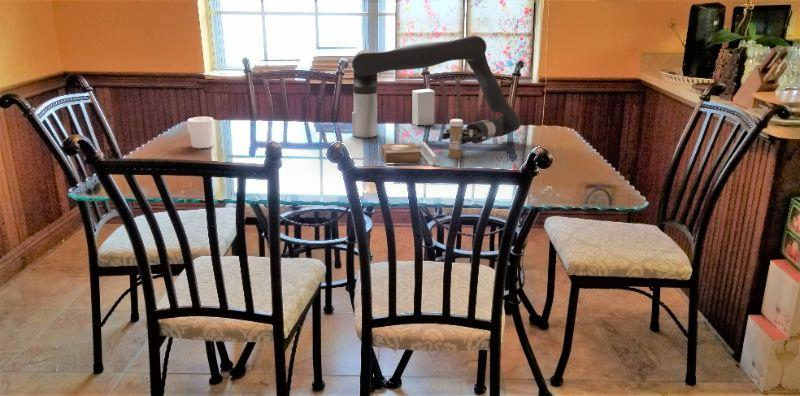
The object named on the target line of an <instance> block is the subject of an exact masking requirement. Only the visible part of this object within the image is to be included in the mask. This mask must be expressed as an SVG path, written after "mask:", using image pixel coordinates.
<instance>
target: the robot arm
mask: <svg viewBox="0 0 800 396" xmlns="http://www.w3.org/2000/svg"><path fill="white" fill-rule="evenodd" d="M486 50H487V43H486V41H485V40H484V38H482V37H481V36H478V35H469V36H466V37H461V38H458V39H453V40H449V41H434V42H422V43H414V44H408V45H404V46H401V47H398V48H395V49H391V50H387V51H377V52H375V51H373V52H372V51H371V50H367V49H363V50H359V51H358V52H357V53H356V54H355V55H354V57H353V59H352V62H351V66H352V69H353V85H352V86H353V87H352V89H353V91H352V94H353V111H352V112H351V124H352V125H351V126H352V127H351V128H352V129H351V130H352V133H351V134H352V137H356V138H363V139H364V138H367V139H368V137H369V138H374V136H375V137H376V136H378V74H380V73H385V72H388V71H389V72H390V71H406V70H407V71H408V70H417V69H424V68H430V67H434V66H437V65H441V64H443V63H446V62H451V61H459V60H465V62H467V65H469V67H470V68H471V71H472V72H473V74H474V76H475V78H476V80H477V82H478V85H479V88H480V89H481V92H482V94H483V96H484V99H485V102H486V105H487V106H488V108H489V111H491V113H500V114H501V116H500V117H498V118H490V119H483V120H478V121H475V122H474V121H473V122H470V123H469V124H468V125H466V127H465V128H464V127H462V138H461V144H462V145H464V144H468V143H469V144H475V145H476V144H479V143H482V142H486V141H488V140H491V139H493V138H497V137H499V138H500V137H503V136H506V135H508V134H511V133H513V132H515V131H518V129H520V127H521V120H520V117H519V115H518V114H517V113H516V112H515V110H514V109H513V107H512V106H511V105H510V103H508V101H507V99H506V96H505V95H504V92H503V89H502V88H501V86H500V84H499V82H498V80H497V79H496V77H495V76H494V74H493V72H492V69H491V68H490V66H489V63H488V59H487V56H486ZM441 136H442V140H450V128H447V129H445V132H443V133H442V135H441Z"/></svg>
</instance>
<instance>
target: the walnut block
mask: <svg viewBox="0 0 800 396" xmlns="http://www.w3.org/2000/svg"><path fill="white" fill-rule="evenodd" d="M420 150H421V149H419V148H418V147H417V145H416V144H415V143H414V142H413V143H410V142H409V143H385V144H381V145H380V155H382V156H381V158H382V157H383V158H384V160H385V161H384V160H383V161H384V163H385V162H386V163H410V164H409V165H411V163H415V164H420V163H419V162H421V163H422V155H421V151H420ZM383 158H382V159H383ZM386 163H385V164H386Z"/></svg>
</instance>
